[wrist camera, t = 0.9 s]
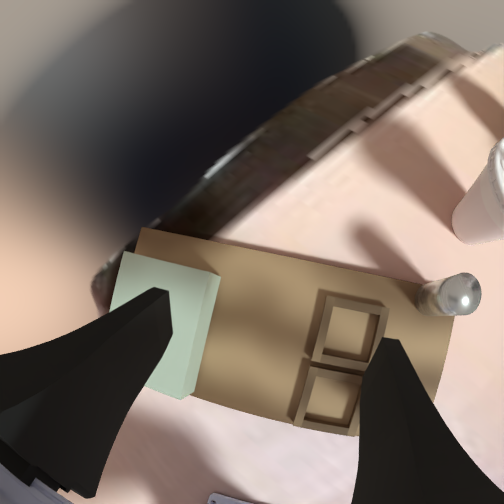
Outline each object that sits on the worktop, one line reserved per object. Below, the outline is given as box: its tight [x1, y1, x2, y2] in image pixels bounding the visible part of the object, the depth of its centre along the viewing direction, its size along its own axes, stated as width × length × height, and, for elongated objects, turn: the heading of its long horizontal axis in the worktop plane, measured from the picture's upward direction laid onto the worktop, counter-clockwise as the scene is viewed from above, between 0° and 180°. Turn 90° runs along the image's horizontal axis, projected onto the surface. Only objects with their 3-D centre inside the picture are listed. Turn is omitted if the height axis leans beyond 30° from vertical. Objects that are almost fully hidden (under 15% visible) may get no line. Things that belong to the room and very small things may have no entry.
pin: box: [415, 273, 481, 316], centre depth 17 cm, size 2×2×6 cm
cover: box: [109, 251, 221, 400], centre depth 22 cm, size 9×7×4 cm
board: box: [134, 227, 455, 437], centre depth 22 cm, size 12×26×2 cm, turn 76°
